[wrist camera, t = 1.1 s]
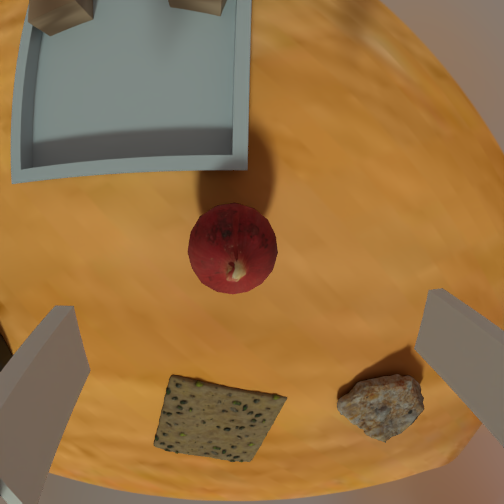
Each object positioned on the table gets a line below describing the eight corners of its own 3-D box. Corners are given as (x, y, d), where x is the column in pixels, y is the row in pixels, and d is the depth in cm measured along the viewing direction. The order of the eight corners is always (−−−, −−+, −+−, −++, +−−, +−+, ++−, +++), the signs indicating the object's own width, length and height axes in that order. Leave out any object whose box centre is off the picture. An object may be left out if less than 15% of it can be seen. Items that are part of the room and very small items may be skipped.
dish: (27, 180, 21) (11, 184, 19) (47, -10, 16) (35, -20, 14) (244, 168, 23) (247, 170, 21) (249, -35, 18) (253, -50, 16)
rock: (425, 378, 33) (390, 356, 28) (442, 417, 28) (411, 406, 23) (369, 413, 36) (323, 399, 32) (381, 451, 31) (336, 446, 27)
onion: (185, 204, 24) (171, 227, 16) (261, 191, 24) (284, 207, 16) (200, 276, 25) (195, 327, 18) (271, 263, 26) (295, 309, 18)
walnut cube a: (50, 36, 17) (27, 22, 14) (51, 0, 16) (31, -17, 12) (93, 19, 18) (75, 0, 14) (93, -17, 16) (77, -38, 13)
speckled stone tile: (251, 460, 33) (252, 466, 32) (152, 443, 31) (151, 449, 30) (289, 393, 31) (291, 399, 30) (170, 370, 28) (169, 376, 27)
